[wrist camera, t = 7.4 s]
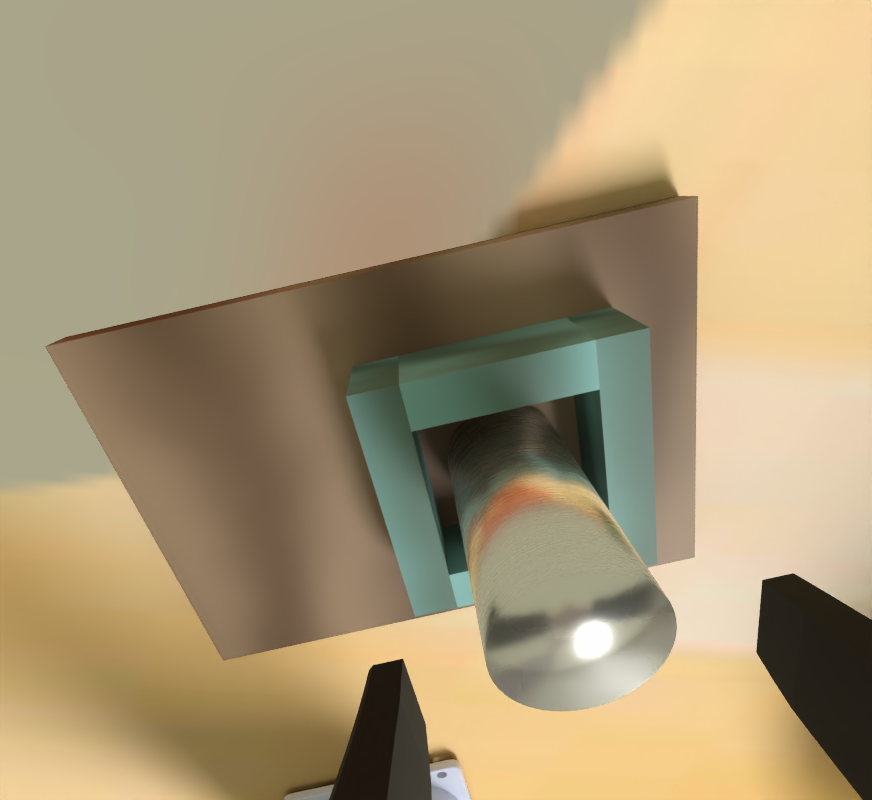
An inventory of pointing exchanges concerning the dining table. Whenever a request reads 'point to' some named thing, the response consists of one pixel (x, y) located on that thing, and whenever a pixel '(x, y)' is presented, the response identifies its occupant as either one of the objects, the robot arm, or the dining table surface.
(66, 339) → the socket board
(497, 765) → the dining table surface
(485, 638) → the steel pin
